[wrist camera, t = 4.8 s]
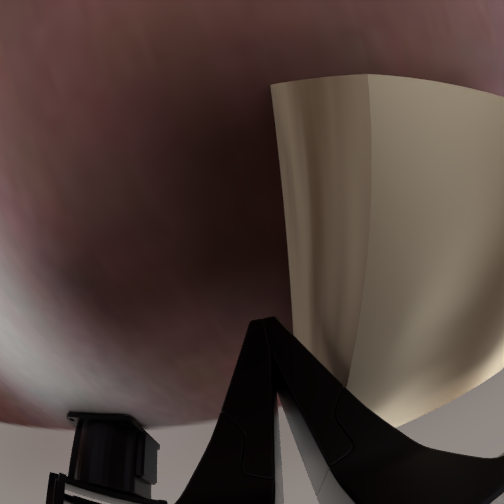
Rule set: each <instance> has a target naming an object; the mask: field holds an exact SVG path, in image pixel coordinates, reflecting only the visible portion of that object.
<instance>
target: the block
mask: <svg viewBox="0 0 504 504" xmlns="http://www.w3.org/2000/svg"><path fill="white" fill-rule="evenodd" d="M270 88H271V96H272V104H273V111H274V120H275V128H276V136H277V145H278V154H279V163H280V172H281V182H282V192H283V202H284V213H285V224H286V236H287V248H288V261H289V274H290V288H291V303H292V320H293V335H294V336H295V337H296V338H297V339H298V340H299V341H300V342H301V343H302V344H303V345H304V346H305V347H306V348H307V349H308V350H309V351H310V352H311V353H312V354H313V355H314V356H315V357H316V358H317V359H318V360H319V361H320V362H321V363H322V364H323V365H324V366H325V367H326V368H327V369H328V370H329V371H330V372H331V373H332V374H333V375H334V376H335V377H336V378H337V379H338V380H339V381H340V382H341V383H342V384H343V387H346V388H347V389H348V390H349V391H350V392H351V393H352V394H353V395H354V396H355V397H356V398H357V399H358V400H360V401H361V402H362V403H363V404H364V405H365V406H366V407H368V408H369V409H370V410H371V411H373V412H374V413H375V414H377V415H378V416H379V417H381V418H382V419H383V420H385V421H386V422H388V423H389V424H390V425H392V426H393V427H398V426H400V425H403V424H405V423H407V422H410V421H411V420H414V419H416V418H418V417H420V416H423V415H425V414H426V413H429V412H431V411H433V410H435V409H437V408H439V407H441V406H442V405H445V404H446V403H448V402H450V401H452V400H454V399H456V398H457V397H459V396H461V395H463V394H464V393H466V392H468V391H469V390H471V389H473V388H474V387H476V386H478V385H479V384H481V383H482V382H484V381H486V380H487V379H489V378H490V377H492V376H493V375H495V374H496V373H498V372H499V371H500V370H502V369H503V367H504V97H501V96H498V95H494V94H491V93H487V92H483V91H479V90H475V89H471V88H467V87H462V86H457V85H452V84H447V83H442V82H436V81H430V80H423V79H416V78H408V77H399V76H389V75H376V74H357V75H342V76H330V77H320V78H312V79H304V80H297V81H290V82H283V83H277V84H271V85H270Z"/></svg>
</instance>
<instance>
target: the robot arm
mask: <svg viewBox="0 0 504 504" xmlns="http://www.w3.org/2000/svg"><path fill="white" fill-rule="evenodd" d="M277 393H278V396H279V399H280V401H281V404H282V407H283V410H284V412H285V415H286V418H287V420H288V423H289V426H290V428H291V431H292V434H293V436H294V439H295V442H296V444H297V447H298V450H299V452H300V455H301V457H302V460H303V463H304V465H305V468H306V471H307V473H308V476H309V478H310V481H311V483H312V486H313V489H314V491H315V494H316V496H317V499H318V501H319V504H504V453H503V454H501V455H500V456H498V457H496V458H481V457H474V456H468V455H461V454H456V453H451V452H446V451H441V450H436V449H432V448H429V447H425V446H423V445H421V444H419V443H417V442H415V441H414V440H412V439H410V438H409V437H407V436H406V435H404V434H403V433H402V432H400V431H399V430H397V429H396V428H395V427H393V426H392V425H390V424H389V423H388V422H386V421H385V420H383V419H382V418H381V417H379V416H378V415H377V414H375V413H374V412H373V411H371V410H370V409H369V408H368V407H366V406H365V405H364V404H363V403H362V402H361V401H360V400H358V399H357V398H356V397H355V396H354V395H353V394H352V393H351V392H350V391H349V390H348V389H347V388H346V387H343V384H342V383H341V382H340V381H339V380H338V379H337V378H336V377H335V376H334V375H333V374H332V373H331V372H330V371H329V370H328V369H327V368H326V367H325V366H324V365H323V364H322V363H321V362H320V361H319V360H318V359H317V358H316V357H315V356H314V355H313V354H312V353H311V352H310V351H309V350H308V349H307V348H306V347H305V346H304V345H303V344H302V343H301V342H300V341H299V340H298V339H297V338H296V337H295V336H294V335H293V334H292V333H291V332H290V331H289V330H288V329H287V328H286V327H285V326H284V325H283V324H282V323H281V322H280V321H279V319H278V318H276V317H274V316H273V317H268V318H263V319H257V320H252V321H250V323H249V326H248V329H247V332H246V335H245V338H244V342H243V345H242V348H241V351H240V354H239V357H238V360H237V364H236V367H235V370H234V373H233V376H232V379H231V382H230V385H229V388H228V391H227V394H226V397H225V400H224V403H223V406H222V409H221V413H220V415H219V418H218V421H217V424H216V427H215V429H214V432H213V435H212V437H211V440H210V442H209V444H208V446H207V448H206V451H205V452H204V454H203V456H202V458H201V460H200V462H199V464H198V466H197V468H196V470H195V471H194V473H193V475H192V477H191V479H190V481H189V483H188V485H187V486H186V488H185V490H184V492H183V493H182V495H181V496H180V498H179V499H178V500H177V502H176V503H175V504H283V503H284V498H283V482H282V481H283V479H282V462H281V447H280V431H279V416H278V401H277ZM67 419H68V420H69V421H70V422H71V423H72V424H74V425H75V426H76V431H75V436H74V441H73V447H72V453H71V459H70V466H69V472H68V477H67V476H66V475H65V474H62V473H59V474H55V473H51V472H50V475H49V483H48V489H47V498H46V504H100V503H97V502H93V501H89V500H86V499H83V498H80V497H77V496H70V495H68V494H65V493H64V490H68V491H71V492H74V493H77V494H81V495H83V496H87V497H90V498H93V499H97V500H100V501H104V502H108V503H112V504H167V501H165V500H153V499H151V485H155V484H156V483H157V450H159V449H160V445H159V444H158V443H157V442H156V441H155V440H154V439H153V438H152V437H151V436H150V435H149V434H148V433H147V432H146V431H145V430H144V429H143V428H142V427H141V426H140V425H139V424H138V423H137V422H136V421H135V420H134V419H133V418H132V417H130V416H118V415H91V414H76V413H67Z"/></svg>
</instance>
